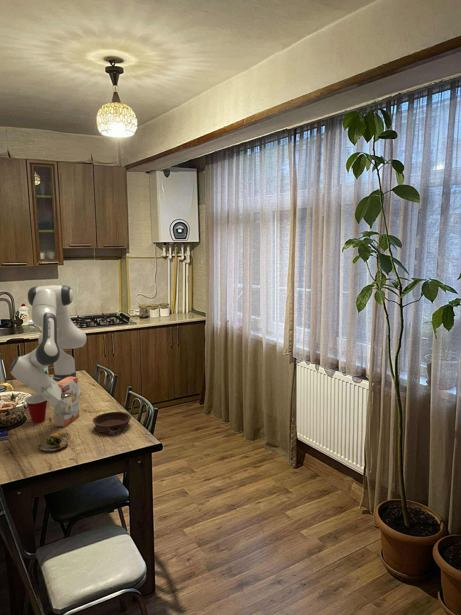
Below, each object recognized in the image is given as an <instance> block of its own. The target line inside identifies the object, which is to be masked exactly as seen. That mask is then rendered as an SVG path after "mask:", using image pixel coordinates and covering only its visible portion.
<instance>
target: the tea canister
mask: <svg viewBox="0 0 461 615" xmlns="http://www.w3.org/2000/svg"><path fill="white" fill-rule="evenodd" d="M61 399H62V400H63V401H66V402H67V403H68V405H67V406H66V407H64V406H63V405H61V404H59V406H60V415H69V414H72V399H71V393H69V392H65V393H61Z"/></svg>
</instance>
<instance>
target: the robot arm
mask: <svg viewBox="0 0 461 615" xmlns="http://www.w3.org/2000/svg"><path fill="white" fill-rule="evenodd" d="M73 300H74V292H73V290H72V288H71V287H70V286H69V285H63V284H62V285H59V284H57V285H54V284H53V285H52V284H51V285H42V286H33V287H31V288H30V289H28V292H27V301H28V303H29V304H30V306H31V315H30V316H31V321H32V323H34V324H35V325H36V326H38V327H41V333H39V335H38V346H37V347H36V348H35V349H33V350H32V351H31V352H29V353H27V354H25V355H21V356H17V357H16V358H14V360H13V361H12V362H11V364H10V366H9V373H10V374H11V375H12V376H13V377H14V378H15V379H16V380H17V381H19V382H20V383H21V384H24V385H26V386H28V389H30V390H31V391H33V392H34V393H35V394H38V395H40V394H43V395H42V396H43V398H44V399H46V400H47V403H49V404H51V405H52V407H53V406H57V405H58V404H61V405H63V406H64V407H66V406H67V405H68V403H67V402H66V401H63V400H62V399H61V393H62V392H61V390H62V389H61V388H60V387H59V386H58V385H57V384H58V383H57V382H59V381H61V380H63V379H64V378H66V377H77V371H76V367H75V366H76V364H75V362H76V361H75V358H74V357H73V356H72V355H71V354H69V353H67V352H65V351H64V350H70V349H78V348H83V347H84V346H85V344H86V343H87V339H88V338H87V335H86V332H85V331H84V330H83V329H81V328H79V327H77V326H76V324H74V322H73V321H72V319H71V316H70V309H69V305H71V303H72V302H73ZM52 364H53V370H54V372H53V373H52V375H53V376H51V375H50V374H49V373H48V374H45V373H43V371H42V370H43V369H44V368H46V367H48V368H49V367H50V365H52ZM52 377H53V378H52ZM79 383H80V382H79V381H78V395H79V396H80V394H82V392H83V391H82V390H80V384H79Z"/></svg>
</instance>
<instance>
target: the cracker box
mask: <svg viewBox="0 0 461 615" xmlns="http://www.w3.org/2000/svg"><path fill="white" fill-rule="evenodd" d="M78 382H79V378H78V377H77V376H76V377H66V378H64V379H63V380H61V381H59V382H57V383H58V384H57V385H58V386H59V387H60V388H61V389H62V390H61V392H62V393H65V392H69V393H71V399H72V414H69V415H60V406H59V404H58V405H57V406H53V405H52V407H53V421H54V422H53V423H54V424H53V425H54V427H60V428H61V427H64V428H65V427H66V426H68V425H70V424H71V423H72V422H74V421H75V420H76V419H78V418H80V399H79V396H80V395H78Z"/></svg>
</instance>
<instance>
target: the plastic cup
mask: <svg viewBox="0 0 461 615" xmlns="http://www.w3.org/2000/svg"><path fill="white" fill-rule="evenodd" d="M42 395H43V394H42V393H41V394H40V395H38V394H37V393H35V394H32V395H30V396H27V397H26V398H25V399H24V402H25V403H26V405H27V409H28V411H29V415H30V418H31V421H32V423H34V424H38V423H42V422H45V421H46V413H47V406H48V405H47V404H48V401H47V400H46V399H44V398H43V396H42Z"/></svg>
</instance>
